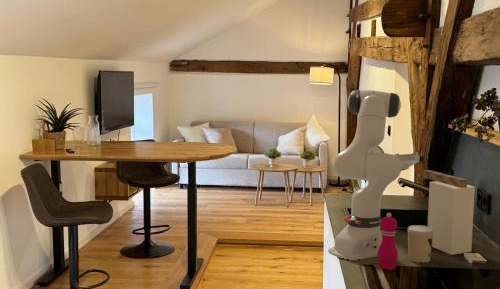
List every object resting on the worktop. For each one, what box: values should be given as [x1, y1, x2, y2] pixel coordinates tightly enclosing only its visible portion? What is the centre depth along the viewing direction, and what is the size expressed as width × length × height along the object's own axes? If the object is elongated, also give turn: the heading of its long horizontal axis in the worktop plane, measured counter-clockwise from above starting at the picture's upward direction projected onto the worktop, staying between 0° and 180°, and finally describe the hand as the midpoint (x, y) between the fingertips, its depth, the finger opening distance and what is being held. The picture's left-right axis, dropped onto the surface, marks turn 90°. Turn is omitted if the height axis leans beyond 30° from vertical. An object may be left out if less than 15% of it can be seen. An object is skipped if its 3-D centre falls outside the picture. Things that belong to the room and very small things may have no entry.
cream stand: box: [427, 180, 476, 256], centre depth 219 cm, size 14×10×26 cm
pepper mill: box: [377, 212, 399, 270], centre depth 198 cm, size 7×7×20 cm
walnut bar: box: [422, 169, 468, 188], centre depth 221 cm, size 22×3×3 cm, turn 22°
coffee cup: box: [407, 224, 434, 264], centre depth 207 cm, size 9×9×12 cm
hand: (407, 154), depth 245 cm, fingers open, 8 cm apart
